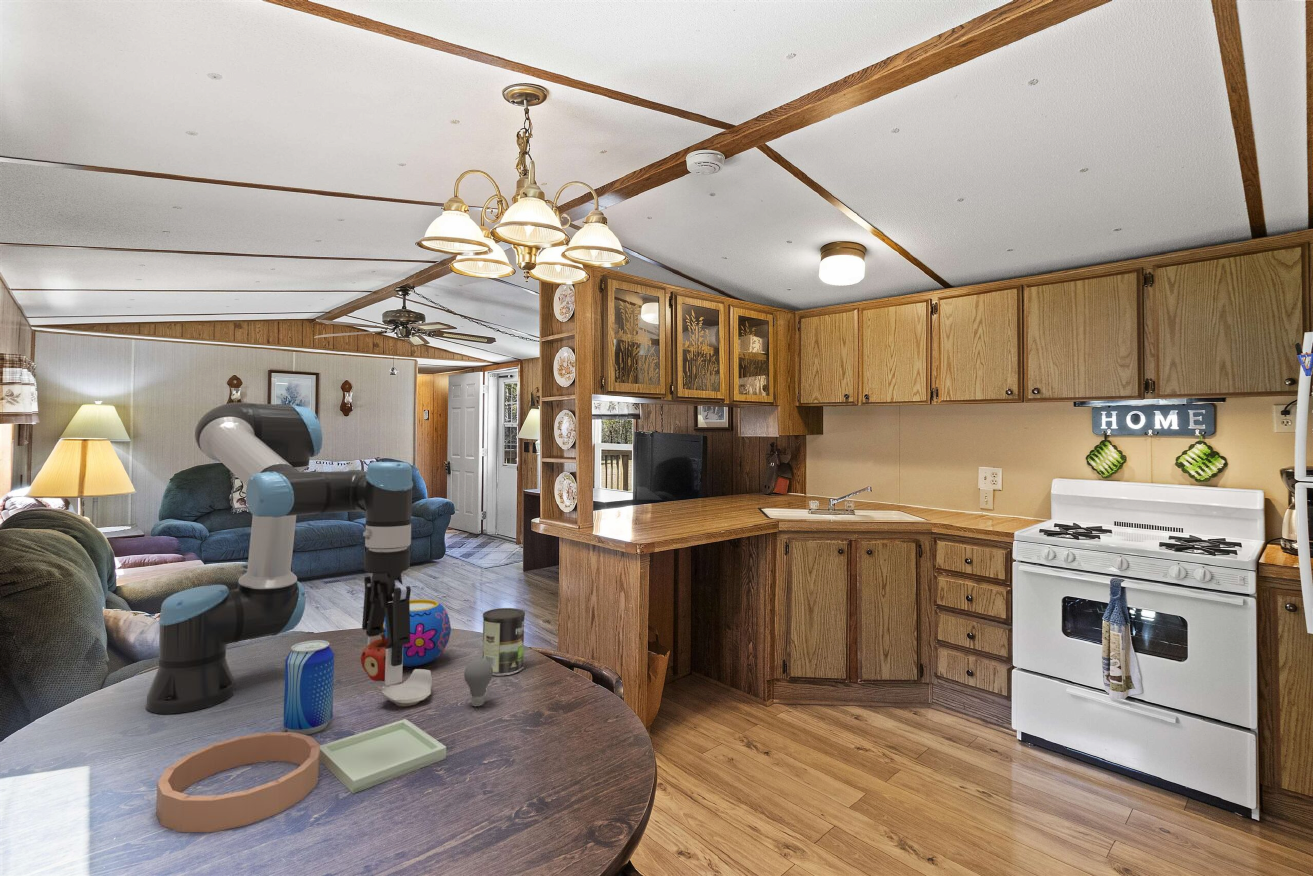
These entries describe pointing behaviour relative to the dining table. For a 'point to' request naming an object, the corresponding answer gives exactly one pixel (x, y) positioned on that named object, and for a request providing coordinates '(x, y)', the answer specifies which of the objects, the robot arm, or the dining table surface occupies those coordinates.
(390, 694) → the pottery shard
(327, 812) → the dining table surface
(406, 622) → the robot arm
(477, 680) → the light bulb
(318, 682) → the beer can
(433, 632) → the ceramic pot
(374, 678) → the apple
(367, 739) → the tray
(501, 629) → the coffee can
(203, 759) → the ring band
